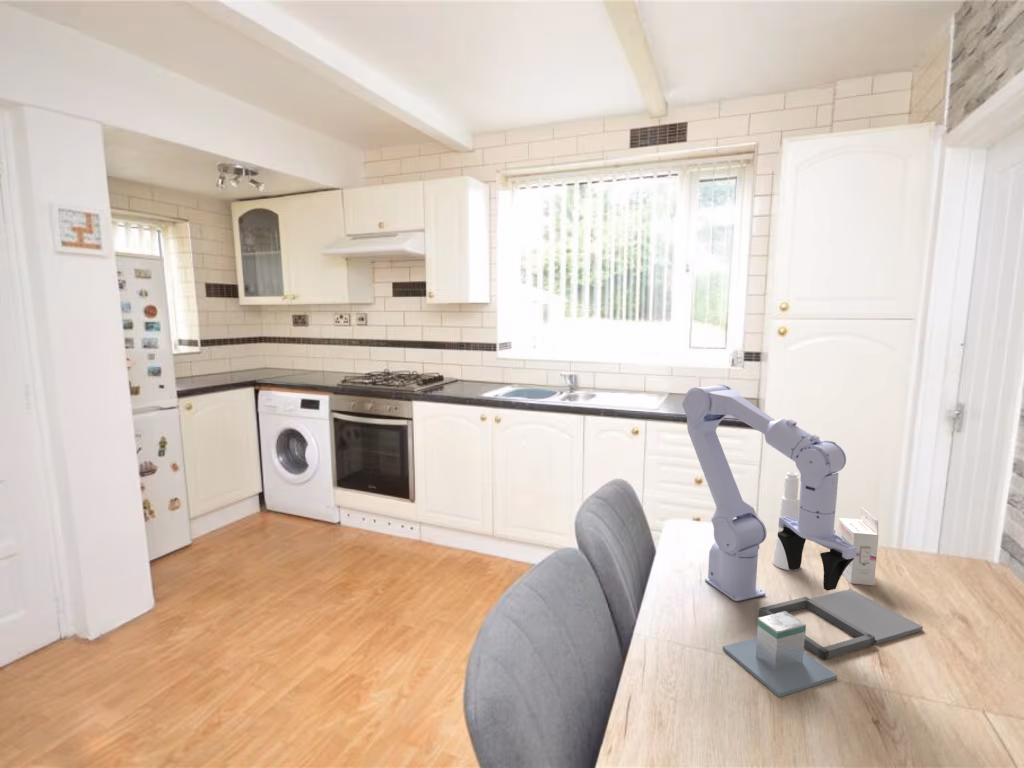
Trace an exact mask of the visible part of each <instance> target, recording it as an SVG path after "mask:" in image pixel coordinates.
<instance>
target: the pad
mask: <svg viewBox="0 0 1024 768" xmlns="http://www.w3.org/2000/svg"><path fill="white" fill-rule="evenodd" d="M756 642H757V636H756V637H753V638H750V639H746V640H741V641H737V642H733V643H730V644H727V645H722V651H724V652H725V653H726V654H727V655H728V656H730V658H732V659H733V660H734V661H736V662H737V663H738V664H739V665H740V666H741V667H742V668H744V669H745V670H746V671H747V672H749V673H750V674H751V675H752V676H754V678H756V679H757V680H758V681H759V682H760V683H761V684H763V685H764V686H765V687H767V688H768V689H769V691H771V692H772V693H773V694H775V695H776V697H778V698H781V697H784V696H787V695H790V694H793V693H794V694H795V693H796V692H799V691H802V690H803V691H804V690H805V689H809V688H812V687H815V686H819V685H821V684H825V683H828V682H831V681H833V680H837V678H838V675H837V674H836V673H835V672H833V671H832V670H830V669H829V668H828V667H826V666H825V665H824V664H822V663H821V662H819V661H818V660H816V659H815V658H813V657H812V656H811V655H809V654H807V653H806V652H805V651H804V654H803V663H802V664H799V665H796V666H792V667H789V668H786V669H782V670H779V671H776V672H774V671H773V670H772V669H771V668H769V667H768V666H767V665H766V664H764V663H763V662H762V661H761V660H759V659H758V658H757V657H756Z"/></svg>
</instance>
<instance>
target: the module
mask: <svg viewBox="0 0 1024 768" xmlns="http://www.w3.org/2000/svg"><path fill="white" fill-rule="evenodd" d="M806 629H807V623H805V622H803V621H802V620H800V619H799V618H797V617H795V616H794V615H792V614H791V613H789V612H786V611H784V612H780V613H776V614H772V615H768V616H764V617H761V616H759V617H758V618H757V628H756V637H757V642H756V657H757V658H758V659H759V660H761V661H762V662H763V663H764V664H766V665H767V666H768V667H769V668H771V669H772V670H773V671H774V672H776V671H779V670H782V669H786V668H789V667H792V666H796V665H799V664H802V663H803V654H804V652H805V647H804V641H805V635H806V631H807V630H806Z"/></svg>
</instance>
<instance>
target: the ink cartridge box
mask: <svg viewBox="0 0 1024 768" xmlns="http://www.w3.org/2000/svg"><path fill="white" fill-rule="evenodd" d="M860 516H861V517H860V519H858V518H843V517H839V519H838V527H837V536H839V537H840V538H842V539H843V540H845V541H846V542H847V543H849V544H851V545H853V546H855V547H856V557H855V558H854V560H853V561H852V562H851V563H850V564H849V565H848V566H847V567H846V569H845V570H844V572H843V573H842V576H844V577H845V579H846V580H847V582H849V584H853V585H855V584H856V585H866V586H867V585H868V586H874V585H875V579H876V578H875V577H876V570H877V557H878V547H879V546H878V545H879V535H880V534H879V520H878V519H877V518H875V517H874V516H873V515H872V514H871V513H870V512H869V511H867V510H866V509H865V508H864V507H860ZM868 518H869V519H868Z"/></svg>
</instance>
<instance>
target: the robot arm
mask: <svg viewBox="0 0 1024 768" xmlns="http://www.w3.org/2000/svg"><path fill="white" fill-rule="evenodd" d="M681 405H682V408H683V411H684V414H685V416H686V425H687V427H686V428H687V432H688V436H689V438H690V440H691V443H692V446H693V448H694V452H695V454H696V456H697V459H698V462H699V465H700V468H701V469H702V472H703V475H704V478H705V480H706V483H707V486H708V488H709V489H708V490H709V491H710V493H711V496H712V500H713V502H714V504H715V510H714V513H713V515H712V517H711V520H710V521H711V522H712V526H713V538H714V541H715V542H714V543H713V544H712V545H711V548H710V550H709V552H708V553H709V555H708V568H707V569H708V571H707V573H708V574H707V576H706V577H705V578H704V581H706V582H707V583H708V584H710V585H711V586H713V587H714V588H715V589H717V590H718V591H720V592H721V593H723V594H725V596H727V597H728V598H729V599H731V600H732V601H734V602H739V601H745V600H749V599H753V598H757V597H763V596H765V595H766V591H764V590H762V588H761V589H760V587H758V586H757V579H758V578H757V577H758V576H757V575H758V561H759V559H758V558H759V550H760V544H762V543H764V542H765V540H766V538H767V536H768V535H767V528H766V525H765V523H764V522H763V520H762V519H761V518H760V517H759V516H758V515H757V512H756V511H755V509H754V507H753V506H751V505H750V504H749V503H747V502H745V501H744V500H743V498H742V495H741V493H740V490H739V487H738V485H737V482H736V480H735V477H734V475H733V473H732V469H731V467H730V465H729V462H728V459H727V458H726V457H727V456H726V455H725V451H724V449H723V446H722V445H721V441H720V440H719V437H718V435H717V429H718V427H719V425H720V423H721V422H722V421H723V420H724V419H725V418H726V417H727V416H730V415H731V416H733V417H734V418H736V419H737V420H739V421H741V423H742V422H743V423H745V424H746V425H748V426H750V427H752V428H753V429H754V430H756V431H758V432H760V433H762V434H764V439H765V442H766V444H767V445H769V446H770V447H771V448H774V449H775V450H777V451H778V452H779V453H780V454H782V455H784V456H785V457H787V458H789V459H790V460H792V461H793V462H794V463H795V466H796V468H797V470H798V471H799V474H800V479H799V480H800V485H799V486H800V488H799V489H800V491H799V513H798V520H796V519H793V518H790V517H788V516H785V517H778V523H779V527H780V528H783V530H782V531H780V532H778V537H779V539H780V541H781V543H782V545H783V547H784V550H785V554H786V557H787V562H788V567H789V569H790V570H789V571H798V570H800V569H801V568H800V566H801V567H802V560H803V552H804V547H805V544H806V541H811V542H813V543H816V544H818V545H820V546H822V547H824V548H826V549H828V550H829V551H824V552H820V554H819V555H820V556H819V557H820V558H821V562H822V567H823V582H822V584H823V589H824V590H826V592H827V591H833V590H836V589H837V587H838V584H839V581H840V579H841V577H842V576H843V574H842V573H843V572H844V570H845V569H846V567H847V566H848V565H849V564H850V563H851V562H852V561H853V560H854V558H855V557H856V547H855V546H853V545H851V544H849V543H847V542H846V541H845V540H843V539H842V538H840V537H839V536H838V534H836V530H835V520H836V519H835V518H836V512H837V511H836V509H837V495H838V483H839V482H838V481H839V472H840V471H842V470H843V469H844V468H845V465H846V464H847V456H846V454H845V451H844V450H843V448H841V446H840V445H838V444H837V442H834V441H833V440H820V437H819V436H818V435H816V434H813V435H812V434H811V433H809V432H808V431H806V430H804V429H802V428H801V427H799V426H797V421H796V420H793V419H786V418H780V419H777V420H776V419H775V418H773V417H771V416H770V415H769V414H767V413H766V412H765V411H763V410H761V409H760V408H759V407H757V406H755V405H754V404H753V403H751V402H750V401H748V399H746V398H745V397H743V396H742V395H741V394H740V392H739V391H738V390H736V389H734V388H732V387H730V386H729V385H726V384H723V383H722V384H717V385H712V386H711V385H710V386H701V387H699V386H696V387H691V388H690V389H689V390H688V391H687V392H686V393H685V396H684V398H683V401H682V403H681ZM797 569H798V570H797Z"/></svg>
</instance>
